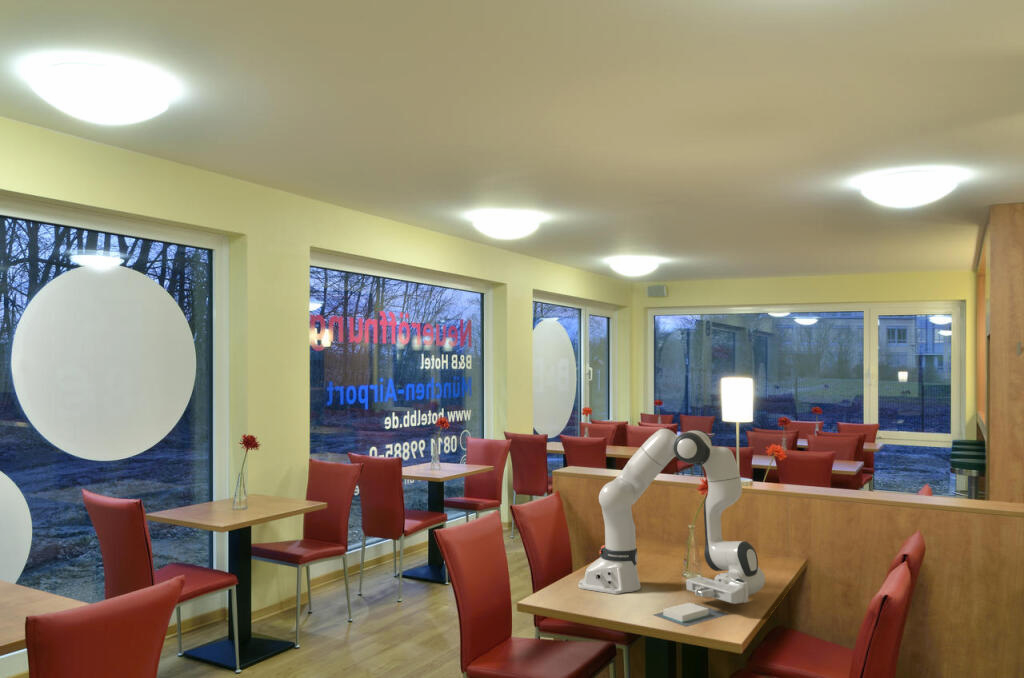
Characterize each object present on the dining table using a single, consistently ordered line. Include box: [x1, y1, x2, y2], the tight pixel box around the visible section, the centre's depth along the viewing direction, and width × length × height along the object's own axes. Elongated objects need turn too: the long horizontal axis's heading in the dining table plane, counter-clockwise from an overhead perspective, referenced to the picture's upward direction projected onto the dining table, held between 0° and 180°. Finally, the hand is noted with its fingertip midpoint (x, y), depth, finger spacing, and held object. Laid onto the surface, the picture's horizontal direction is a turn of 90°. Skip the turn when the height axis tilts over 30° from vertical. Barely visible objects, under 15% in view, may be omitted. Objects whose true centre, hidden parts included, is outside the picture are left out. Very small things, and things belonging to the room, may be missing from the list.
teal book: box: [662, 602, 709, 623], centre depth 241 cm, size 2×8×12 cm
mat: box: [653, 603, 730, 628], centre depth 242 cm, size 20×14×1 cm
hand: (698, 593), depth 244 cm, fingers closed
